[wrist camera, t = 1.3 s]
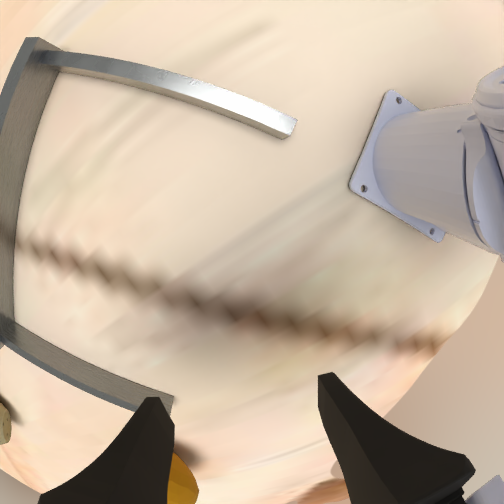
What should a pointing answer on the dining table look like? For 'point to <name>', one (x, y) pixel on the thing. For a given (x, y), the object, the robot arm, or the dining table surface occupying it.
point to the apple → (181, 483)
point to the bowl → (4, 425)
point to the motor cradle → (14, 165)
